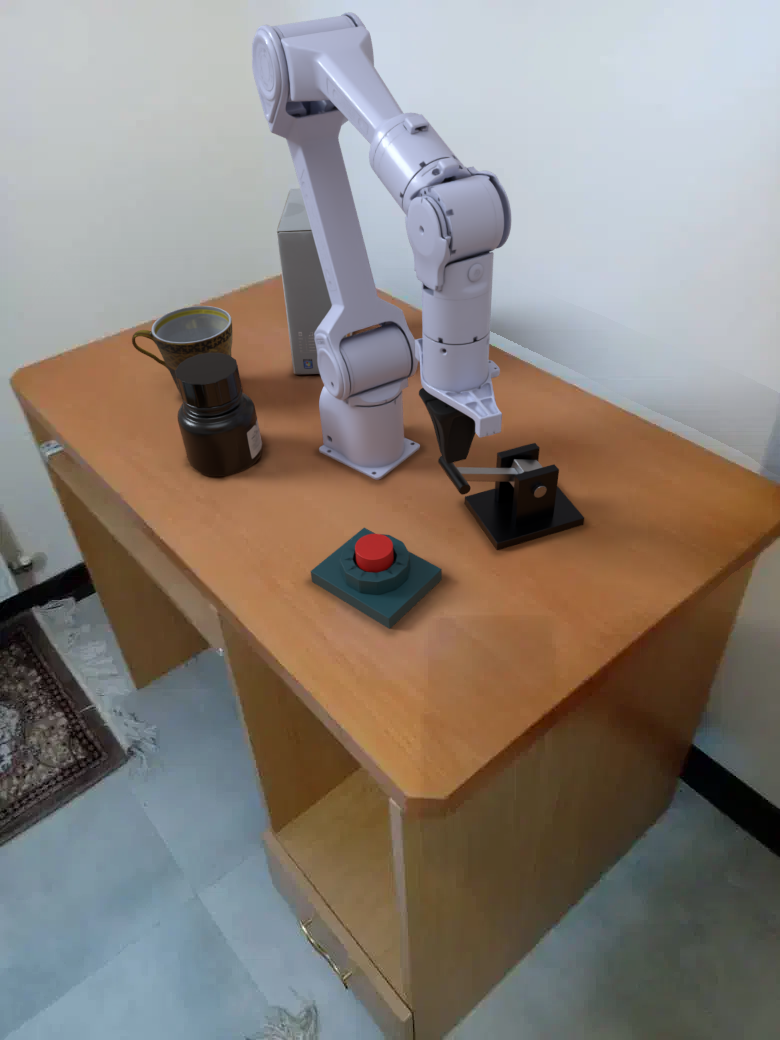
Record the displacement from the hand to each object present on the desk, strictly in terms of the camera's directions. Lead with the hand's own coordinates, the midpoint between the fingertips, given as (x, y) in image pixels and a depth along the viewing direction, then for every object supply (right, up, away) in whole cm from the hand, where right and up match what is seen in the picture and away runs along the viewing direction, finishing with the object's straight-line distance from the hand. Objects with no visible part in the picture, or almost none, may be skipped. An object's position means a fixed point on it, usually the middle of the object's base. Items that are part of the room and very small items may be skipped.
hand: (454, 457), depth 76 cm
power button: (-8, -10, 0) cm, 12 cm away
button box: (-7, -12, +2) cm, 14 cm away
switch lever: (+4, -2, +4) cm, 6 cm away
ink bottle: (-26, +2, +19) cm, 32 cm away
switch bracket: (+8, -6, +9) cm, 13 cm away
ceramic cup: (-32, +11, +30) cm, 45 cm away
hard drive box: (-15, +18, +38) cm, 45 cm away
